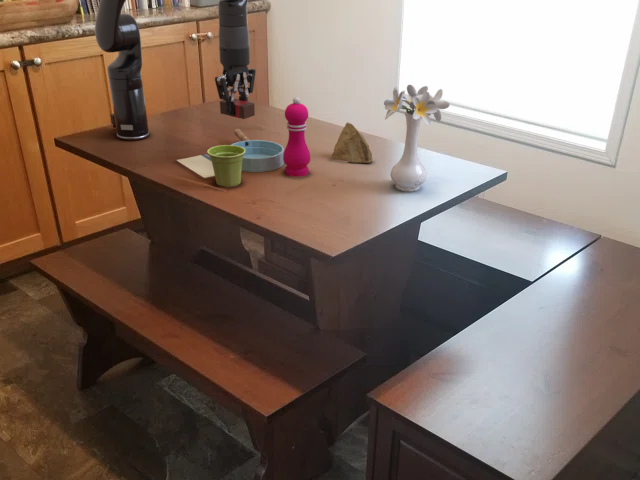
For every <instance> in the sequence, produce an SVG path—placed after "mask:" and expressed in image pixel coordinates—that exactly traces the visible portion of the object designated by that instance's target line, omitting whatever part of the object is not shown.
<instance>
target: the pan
mask: <svg viewBox="0 0 640 480" xmlns="http://www.w3.org/2000/svg"><path fill="white" fill-rule="evenodd" d="M245 142H248V143H249V146H245ZM230 145H235V146H240V147H243V148H244V149H245V153H244V157H243V159H242V172H246V173H264V172H271V171H275V170H277V169H280V168H282V167H283V166H284V164H285V163H284V161H283V154H284V150H285V147H284V146H283V145H282V144H280V143H278V142H276V141H270V140H262V139H250V140H248V141H241V140H240V141H237V142H233V143H231V144H230Z"/></svg>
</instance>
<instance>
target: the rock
mask: <svg viewBox="0 0 640 480" xmlns="http://www.w3.org/2000/svg"><path fill="white" fill-rule="evenodd" d="M372 153H373V152H372V151H371V149H370V145H369V144H368V142H367V141H366V139H365V137H364V135H363V134H362V133H360V132H359V130H358V128H356V127H355V126H354V124H353V123H350V122H346V123H345V125H344V126H343V128H342V130H341V131H340V134H339V137H338V138H337V141H336V143H335V145H334V147H333V152H332V154H331V159H332V160H333V159H334V160H338V161H344V162H348V163H355V164H356V163H358V164H360V163H363V164H370V163H372V162H373V154H372Z"/></svg>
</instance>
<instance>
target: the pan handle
mask: <svg viewBox="0 0 640 480" xmlns="http://www.w3.org/2000/svg"><path fill="white" fill-rule="evenodd" d="M233 131H234V132H233V133H234V135H235V136H236V137H237V138H238V140H239V141H240V142H241V141H248V140H251V139H250V138H249V137H248V136H247V135H245V133H244V132H243V131H242V130H241V129H240V128H235V130H233ZM245 146H249V143H248V142H245Z"/></svg>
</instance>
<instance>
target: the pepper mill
mask: <svg viewBox="0 0 640 480" xmlns="http://www.w3.org/2000/svg"><path fill="white" fill-rule="evenodd" d="M300 102H301V99H300V98H299V97H298V96H295V97H293V99H292V103H290V104H288V105H287V106H286V108H285V110H284V118H285V120H286V121H287V123H286V129H287V130H288V139H287V143H286V146H285V147H284V154H283V161H284V164H285V167H284V174H285V175H286V176H289V177H295V178H296V177H298V178H299V177H305V176H307V175H308V174H309V172H310V171H309V170H310V168H309V166H308V165H309V164H310V162H311V153H310V149H309V147H308V145H307V142H306V137H305V132H306V130H307V122H306V121H308V119H309V110H308V107H307V106H306V105H304V104H303V103H300Z"/></svg>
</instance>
